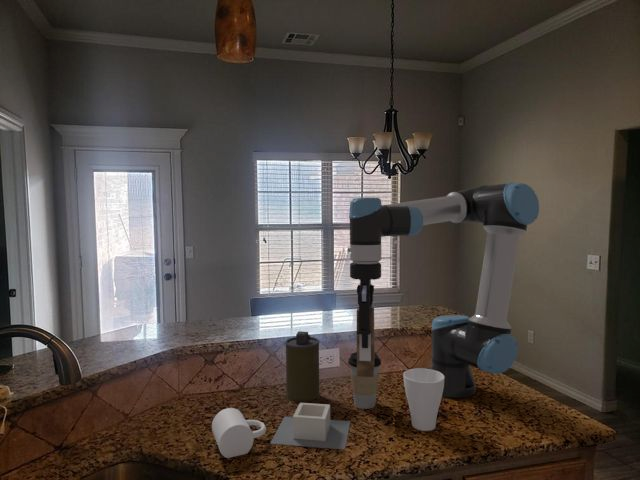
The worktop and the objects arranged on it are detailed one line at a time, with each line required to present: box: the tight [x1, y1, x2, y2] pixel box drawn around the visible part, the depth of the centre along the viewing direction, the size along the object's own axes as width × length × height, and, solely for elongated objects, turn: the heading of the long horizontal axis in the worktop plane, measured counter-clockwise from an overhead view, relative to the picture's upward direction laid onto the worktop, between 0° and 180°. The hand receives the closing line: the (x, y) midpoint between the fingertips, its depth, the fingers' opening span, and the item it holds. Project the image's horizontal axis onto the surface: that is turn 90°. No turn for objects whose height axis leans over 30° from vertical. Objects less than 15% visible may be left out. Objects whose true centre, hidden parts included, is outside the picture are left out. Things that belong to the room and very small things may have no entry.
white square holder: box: [292, 402, 331, 441], centre depth 110 cm, size 8×8×6 cm
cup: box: [402, 367, 445, 432], centre depth 114 cm, size 10×10×14 cm
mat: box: [269, 416, 351, 450], centre depth 110 cm, size 18×14×1 cm
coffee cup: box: [347, 351, 382, 410], centre depth 125 cm, size 9×9×15 cm
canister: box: [284, 331, 321, 403], centre depth 132 cm, size 11×10×20 cm
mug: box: [211, 407, 267, 459], centre depth 104 cm, size 12×10×8 cm
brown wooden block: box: [356, 306, 375, 377], centre depth 106 cm, size 4×4×16 cm
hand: (365, 356), depth 106 cm, fingers closed on brown wooden block, 4 cm apart
